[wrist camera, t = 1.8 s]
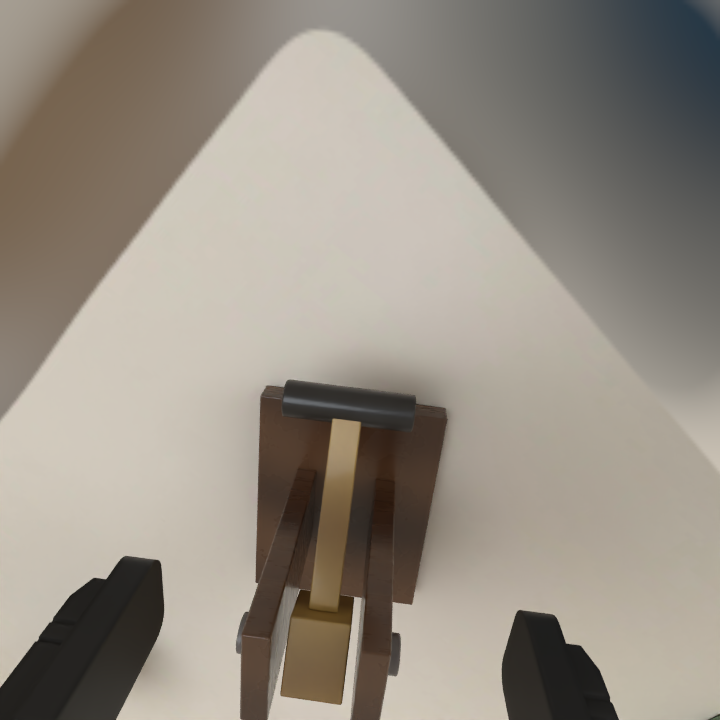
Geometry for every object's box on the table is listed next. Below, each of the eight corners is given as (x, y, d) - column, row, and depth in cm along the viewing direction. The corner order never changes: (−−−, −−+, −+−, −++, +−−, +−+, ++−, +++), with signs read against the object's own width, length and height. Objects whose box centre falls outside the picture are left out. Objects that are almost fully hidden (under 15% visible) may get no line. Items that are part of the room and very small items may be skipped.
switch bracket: (266, 385, 25) (176, 535, 15) (445, 407, 25) (474, 576, 15) (260, 567, 30) (188, 775, 20) (411, 588, 29) (416, 810, 19)
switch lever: (292, 379, 21) (282, 379, 18) (413, 394, 20) (418, 396, 18) (256, 654, 20) (240, 690, 18) (380, 672, 20) (381, 711, 18)
